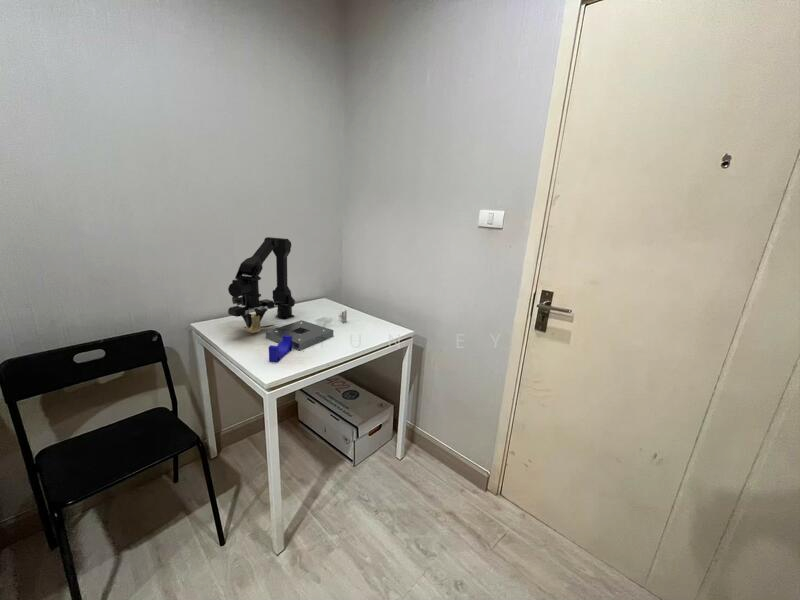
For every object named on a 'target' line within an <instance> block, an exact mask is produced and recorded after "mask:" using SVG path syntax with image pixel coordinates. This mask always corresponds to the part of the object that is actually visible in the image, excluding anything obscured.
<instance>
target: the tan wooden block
mask: <svg viewBox="0 0 800 600" xmlns="http://www.w3.org/2000/svg"><path fill="white" fill-rule="evenodd" d="M250 314H251V326H250V328H248V327H247V325H246V324H245V327H246V328H245V329H246V331H247V332H249V333H251V334H254V333H257V332H260V331H261V322H260V315H257V314H256V313H250Z"/></svg>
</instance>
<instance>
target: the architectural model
mask: <svg viewBox="0 0 800 600" xmlns="http://www.w3.org/2000/svg"><path fill="white" fill-rule="evenodd" d="M347 311H348V310H344V311H341V312H340V313H339V315H338V317H339V318H338V320H339V322H341V323H342V324H344V323H347V317H348V315H347V313H348V312H347Z"/></svg>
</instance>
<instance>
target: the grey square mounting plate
mask: <svg viewBox="0 0 800 600" xmlns="http://www.w3.org/2000/svg"><path fill="white" fill-rule="evenodd" d="M284 335H288V336H292V350H293V349H294V350H297V351H303V350H304V349H306V348H309V347H311V346H314V345H316V344H319V343H321V342H323V341H326V340H328V339H330V338H333V337H334V329H331V328H328V327H325V326H321V325H319V324H314V323H312V322H308V321H306V320H303V319H301V320H298V321H295V322H291V323H288V324H285V325H282V326H278V327H276V328H272V329H269V330H267V331H265V339H267V340H269V341H273V342H274V343H277V344H279V343H280V342H282V341H283V336H284Z"/></svg>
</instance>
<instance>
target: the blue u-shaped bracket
mask: <svg viewBox="0 0 800 600" xmlns="http://www.w3.org/2000/svg"><path fill="white" fill-rule="evenodd" d="M292 350H293V348H292V336H288V335H284V336H283V341H282V342H280V343H277V345H268V361H269V362H270V363H278V362H279V361H281V360H282V359H283V358H285V356H287V355H288V354H289V353H290V352H291V351H292Z"/></svg>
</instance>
